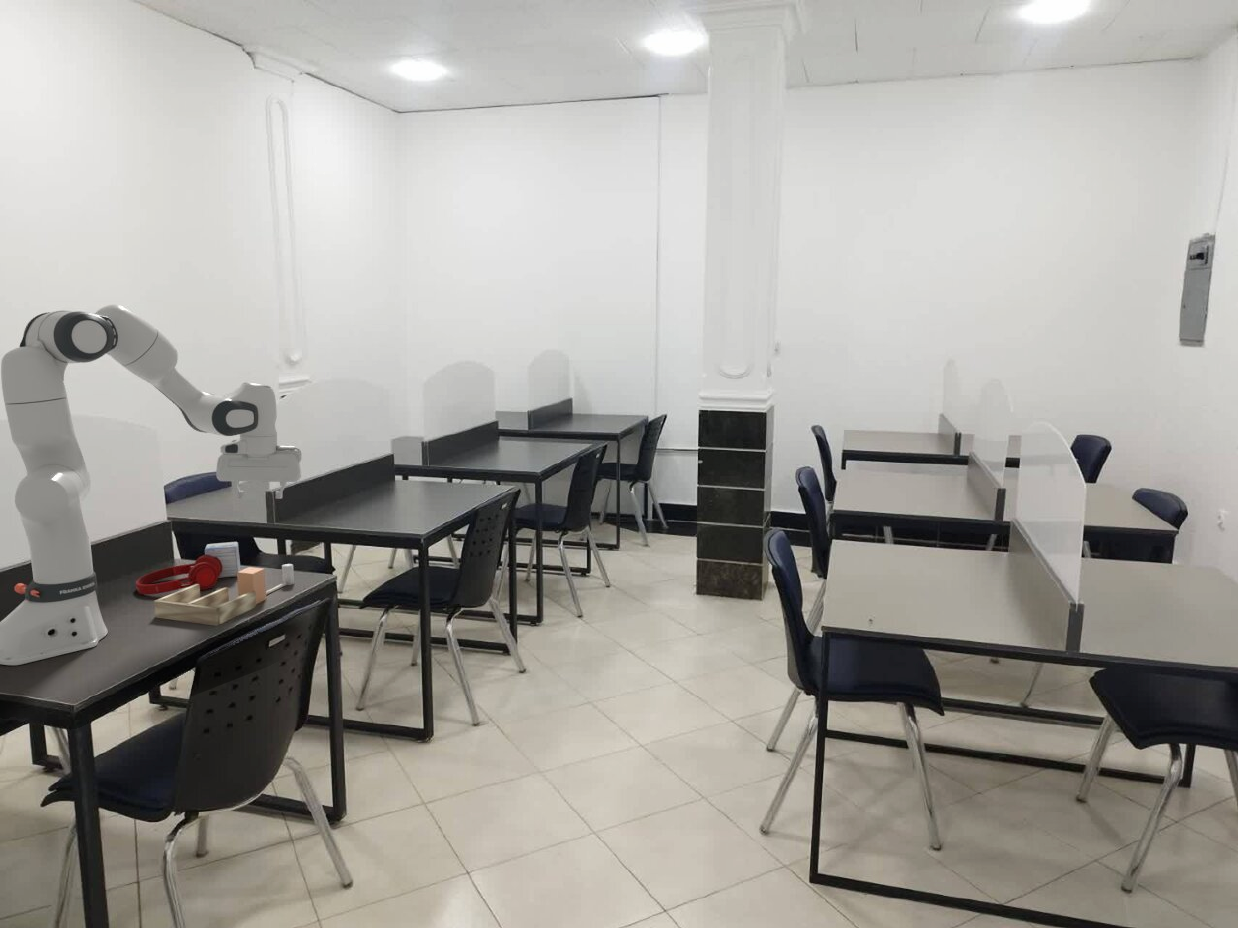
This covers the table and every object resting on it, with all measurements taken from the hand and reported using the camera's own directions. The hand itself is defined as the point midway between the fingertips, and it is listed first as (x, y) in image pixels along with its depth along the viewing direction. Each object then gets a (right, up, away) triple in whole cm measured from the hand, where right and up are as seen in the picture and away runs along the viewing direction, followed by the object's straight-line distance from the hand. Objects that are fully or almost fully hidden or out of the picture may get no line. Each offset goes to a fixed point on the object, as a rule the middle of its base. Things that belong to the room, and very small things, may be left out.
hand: (259, 498), depth 226 cm
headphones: (-21, -24, +1) cm, 32 cm away
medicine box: (-14, -22, +10) cm, 28 cm away
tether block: (+4, -24, -3) cm, 25 cm away
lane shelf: (-6, -27, -17) cm, 32 cm away
